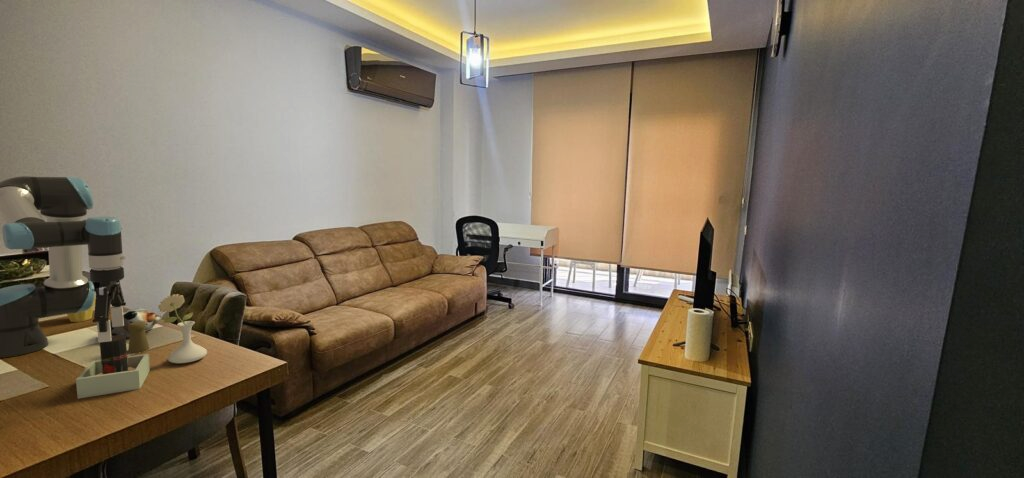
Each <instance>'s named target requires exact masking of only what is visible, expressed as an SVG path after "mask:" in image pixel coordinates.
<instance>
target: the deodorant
mask: <svg viewBox="0 0 1024 478" xmlns="http://www.w3.org/2000/svg"><path fill="white" fill-rule="evenodd" d="M111 339H112V340H111V341H108V342H99V351H100V360H101V364H102V375H103V374H110V373H117V372H124V371H128V361H127V357H128V350H127V349H128V347H127V338H126V336H124V335H114V336H111Z"/></svg>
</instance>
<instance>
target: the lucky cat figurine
mask: <svg viewBox="0 0 1024 478" xmlns="http://www.w3.org/2000/svg"><path fill="white" fill-rule="evenodd" d="M161 318H162V315H161V314H159V313H158V314H156V313H155V312H151V311H149V310H148V309H145V308H131V309H128V310H125V311H123V319H124V326H120V327H112V319H111V320H110V326H111V336H114V335H124V336H126V339H129V338H130V332H129V331H128V325H129V324H130V323H133V322H138V321H142V322H145V323H146V329H145V332H148V331H150V330H152V329H153V328H154V326H155V325H156V324H157V323H158V322H159V321H160V320H161Z"/></svg>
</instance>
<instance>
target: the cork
mask: <svg viewBox="0 0 1024 478" xmlns="http://www.w3.org/2000/svg"><path fill="white" fill-rule="evenodd" d="M145 329H146V323H145V322H142V321H138V322H133V323H130V324H129V325H128V331H129V332H130V338H128V340H129V342H128V347H127V349H128V350H127V353H128V352H129V353H128V354H131V353H135V354H140V353H139V352H141V353H145V352H147V351H149V350H150V346H149V342H148V338H147V334H146V331H145ZM148 349H149V350H148ZM144 351H145V352H144Z"/></svg>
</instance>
